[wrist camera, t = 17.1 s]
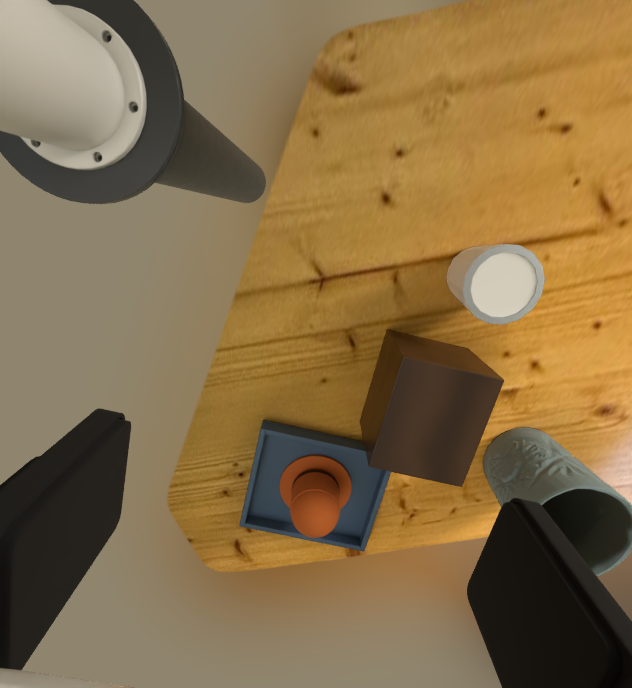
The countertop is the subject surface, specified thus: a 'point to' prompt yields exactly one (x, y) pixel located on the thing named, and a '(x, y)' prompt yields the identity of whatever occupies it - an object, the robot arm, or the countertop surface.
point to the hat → (315, 493)
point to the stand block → (427, 408)
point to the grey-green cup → (562, 494)
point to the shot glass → (496, 281)
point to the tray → (292, 443)
